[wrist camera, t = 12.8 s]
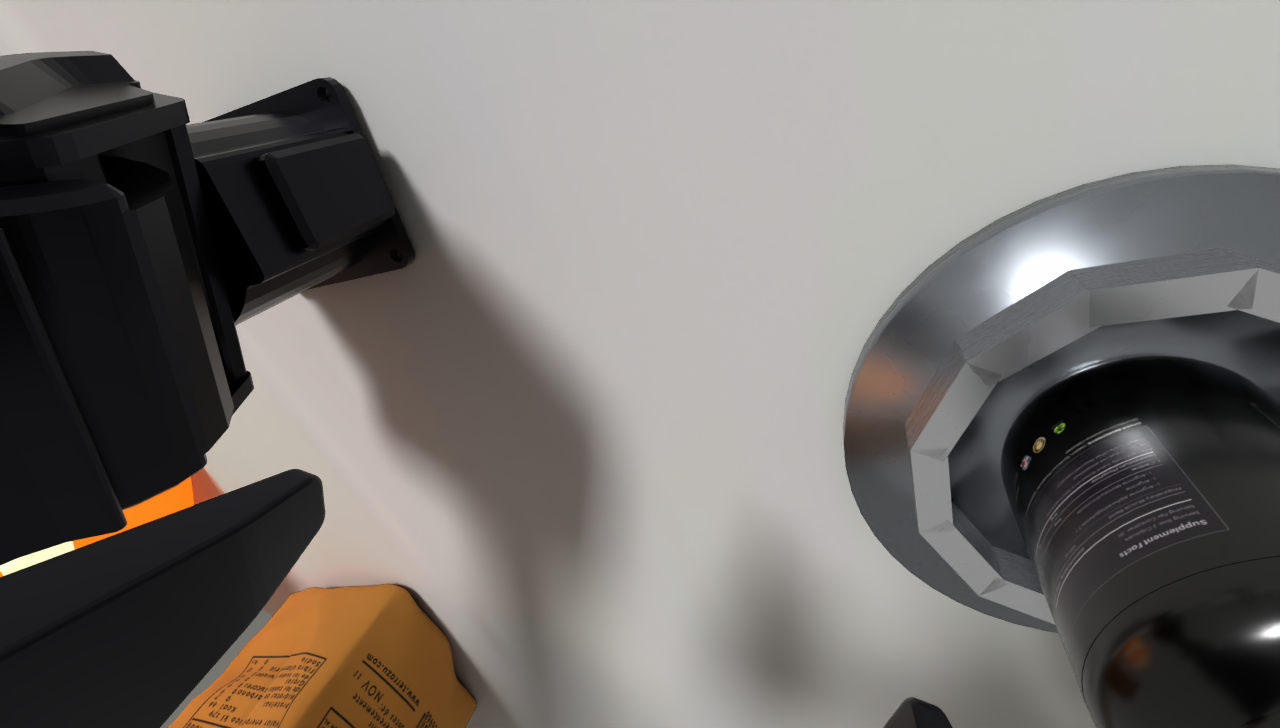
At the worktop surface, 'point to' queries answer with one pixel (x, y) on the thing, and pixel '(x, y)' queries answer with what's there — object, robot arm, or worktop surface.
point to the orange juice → (135, 517)
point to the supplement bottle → (1157, 538)
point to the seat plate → (1008, 275)
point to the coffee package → (339, 668)
